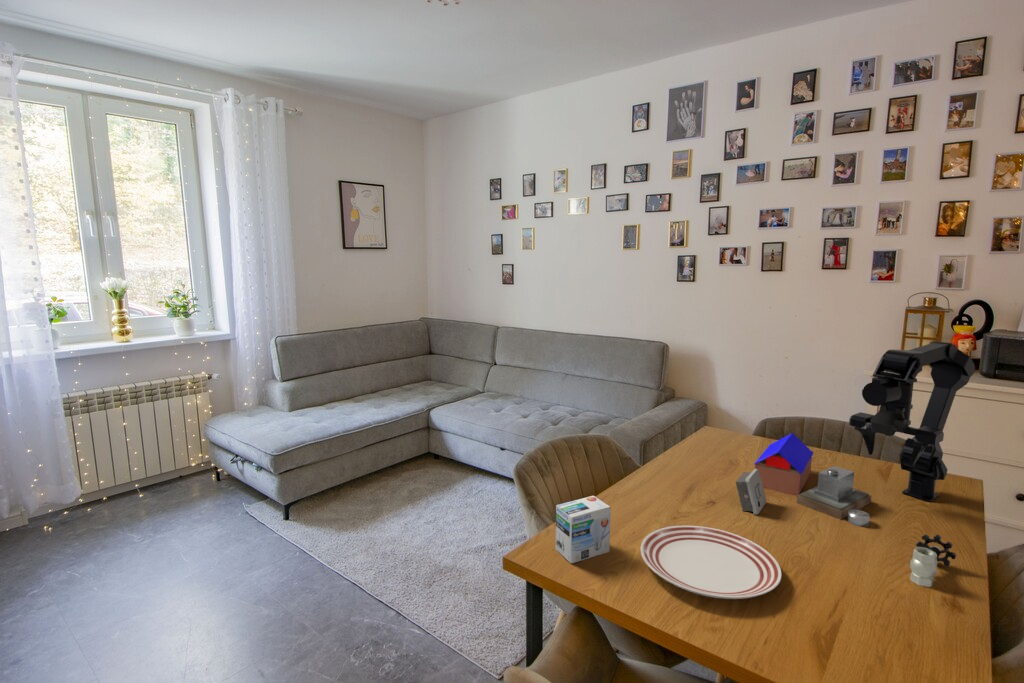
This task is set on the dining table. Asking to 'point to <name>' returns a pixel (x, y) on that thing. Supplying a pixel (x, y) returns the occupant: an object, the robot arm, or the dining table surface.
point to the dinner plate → (710, 562)
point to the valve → (928, 560)
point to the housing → (835, 484)
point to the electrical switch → (751, 491)
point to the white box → (582, 528)
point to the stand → (834, 503)
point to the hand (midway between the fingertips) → (890, 459)
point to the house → (785, 465)
